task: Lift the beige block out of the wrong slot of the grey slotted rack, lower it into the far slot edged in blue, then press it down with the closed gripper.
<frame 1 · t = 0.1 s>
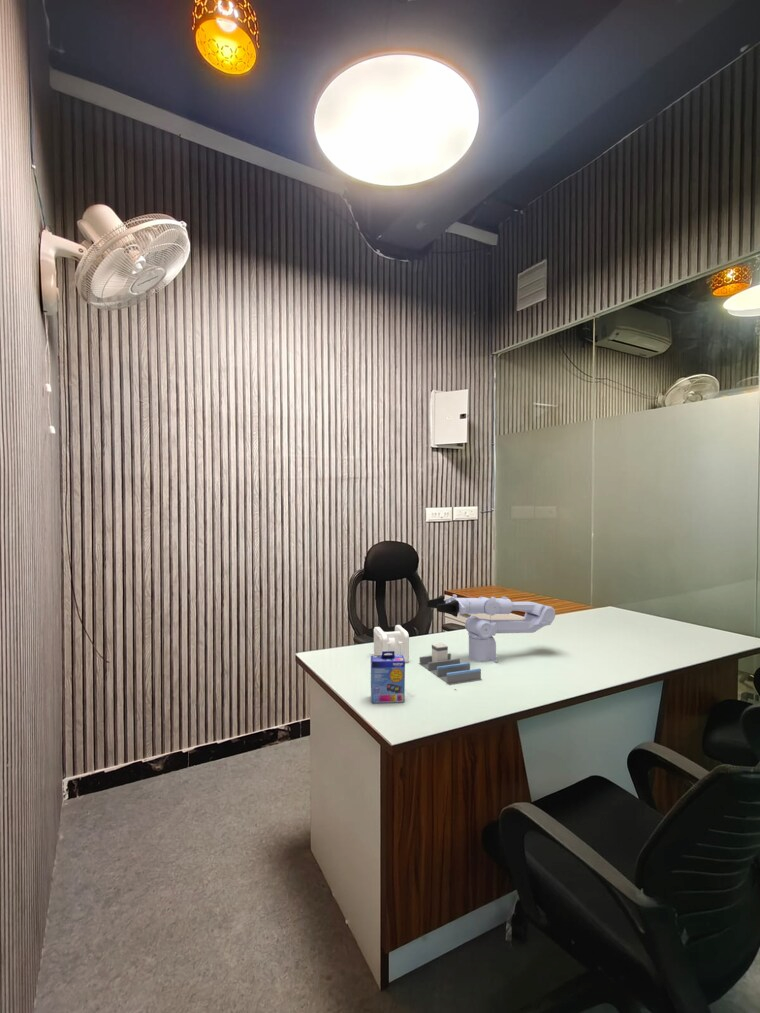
hand: (432, 605, 160), 22 cm above the table, tool horizontal, fingers open, 7 cm apart
cable organizer: (390, 661, 167), on the table
grey slotted rack: (448, 674, 153), on the table
beige block: (439, 665, 159), point 1 cm above the table, touching grey slotted rack
ink cartridge box: (387, 700, 132), on the table
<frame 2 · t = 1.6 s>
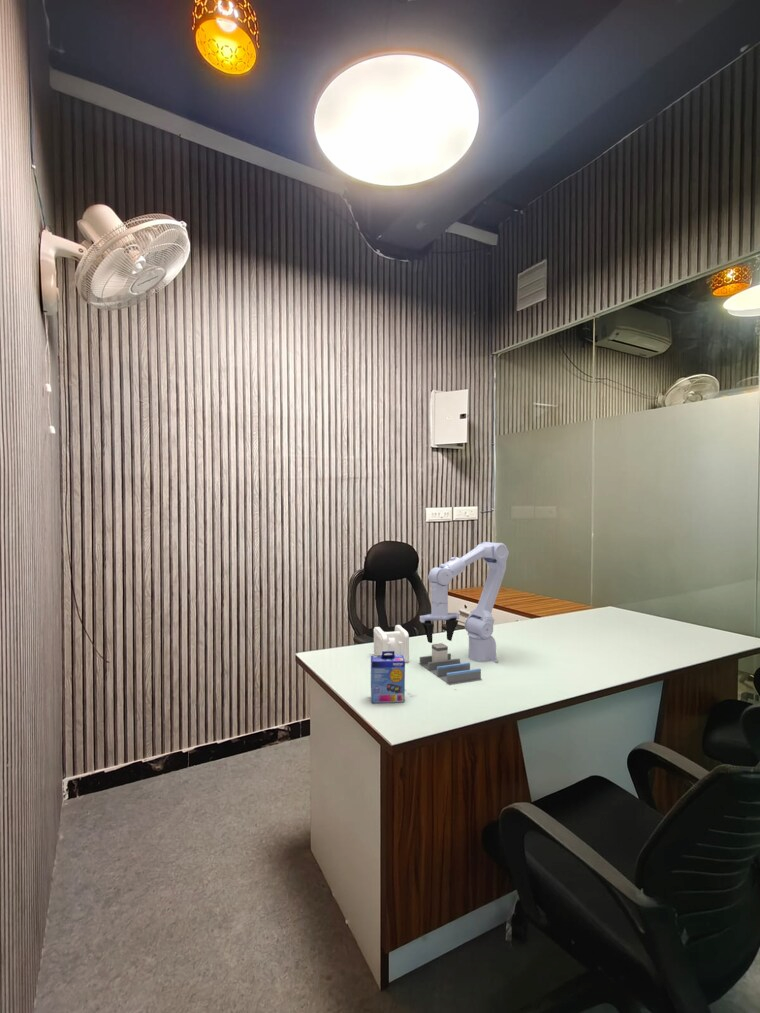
hand: (439, 641, 159), 9 cm above the table, tool pointing down, fingers open, 7 cm apart
nothing on the table moved.
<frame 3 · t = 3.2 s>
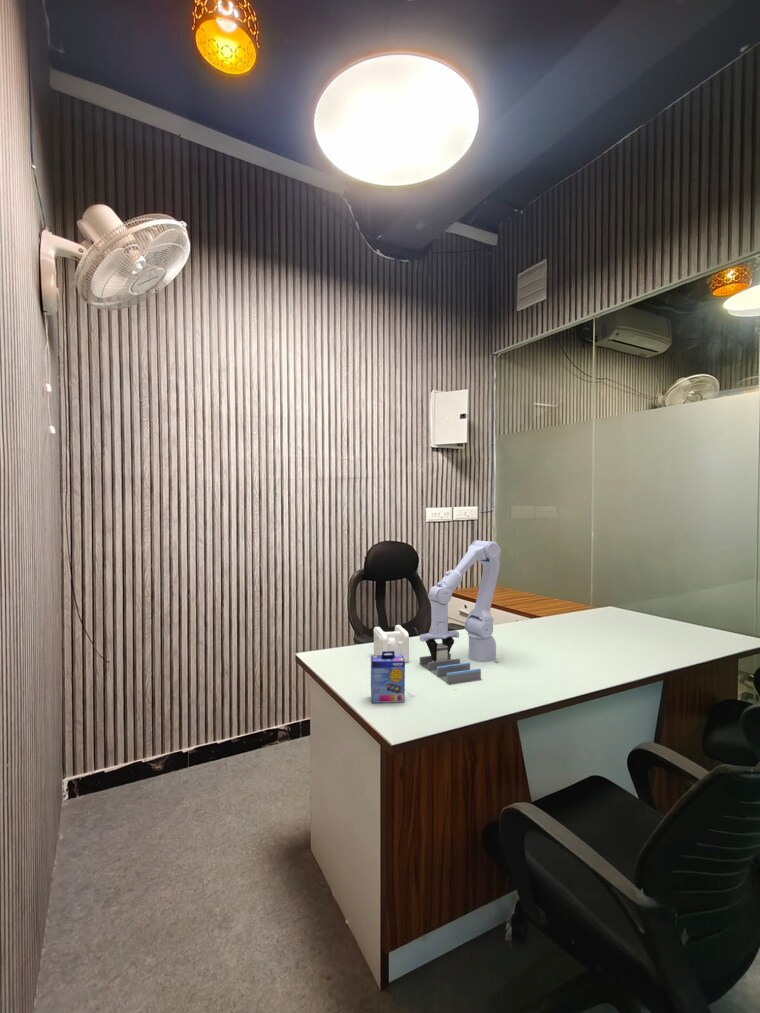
hand: (439, 659, 159), 3 cm above the table, tool pointing down, fingers closed on beige block, 4 cm apart
beige block: (439, 665, 159), point 1 cm above the table, touching grey slotted rack, gripper
everything else where it was.
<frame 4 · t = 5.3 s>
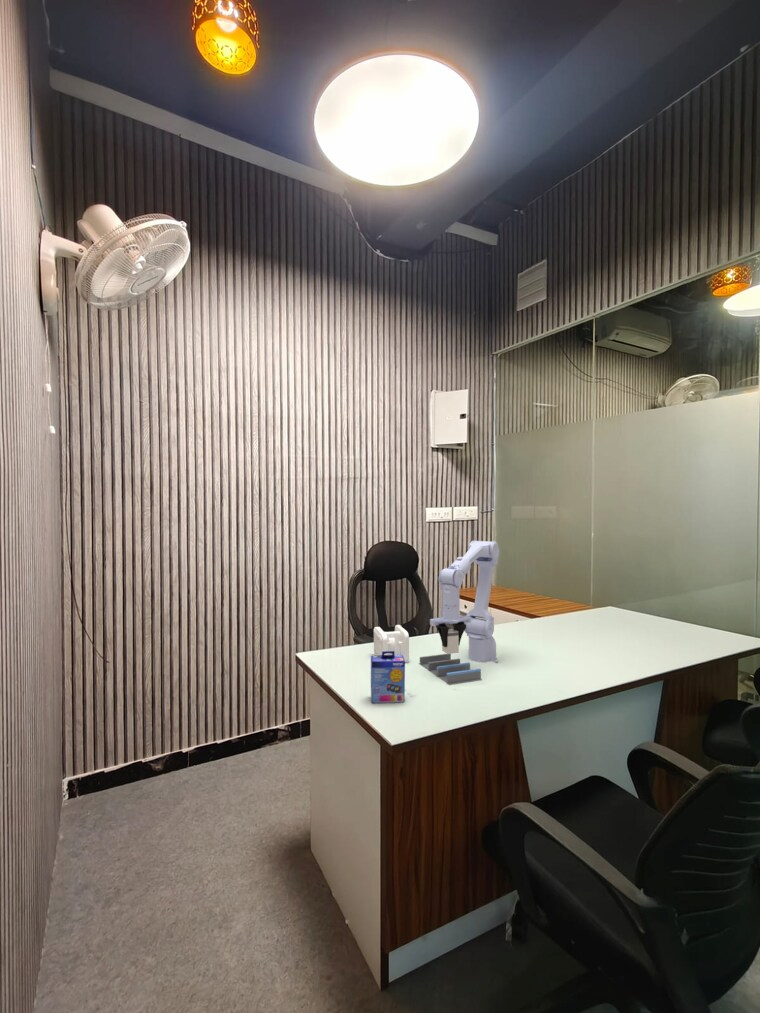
hand: (450, 645, 152), 10 cm above the table, tool pointing down, fingers closed on beige block, 4 cm apart
beige block: (450, 651, 152), point 8 cm above the table, touching gripper
everything else where it was.
when the fingers open (4 cm above the table, at t = 7.6 s): beige block stays where it is, resting on grey slotted rack.
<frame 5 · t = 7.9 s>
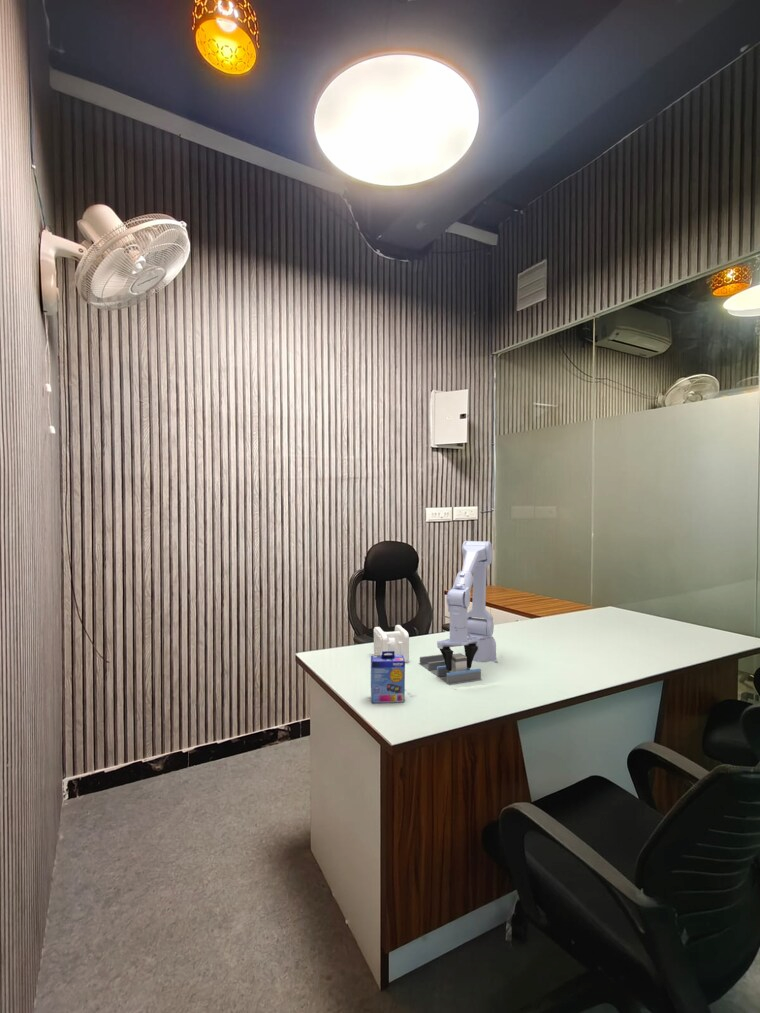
hand: (458, 668, 147), 4 cm above the table, tool pointing down, fingers open, 7 cm apart
beige block: (458, 677, 147), point 1 cm above the table, touching grey slotted rack
everything else where it was.
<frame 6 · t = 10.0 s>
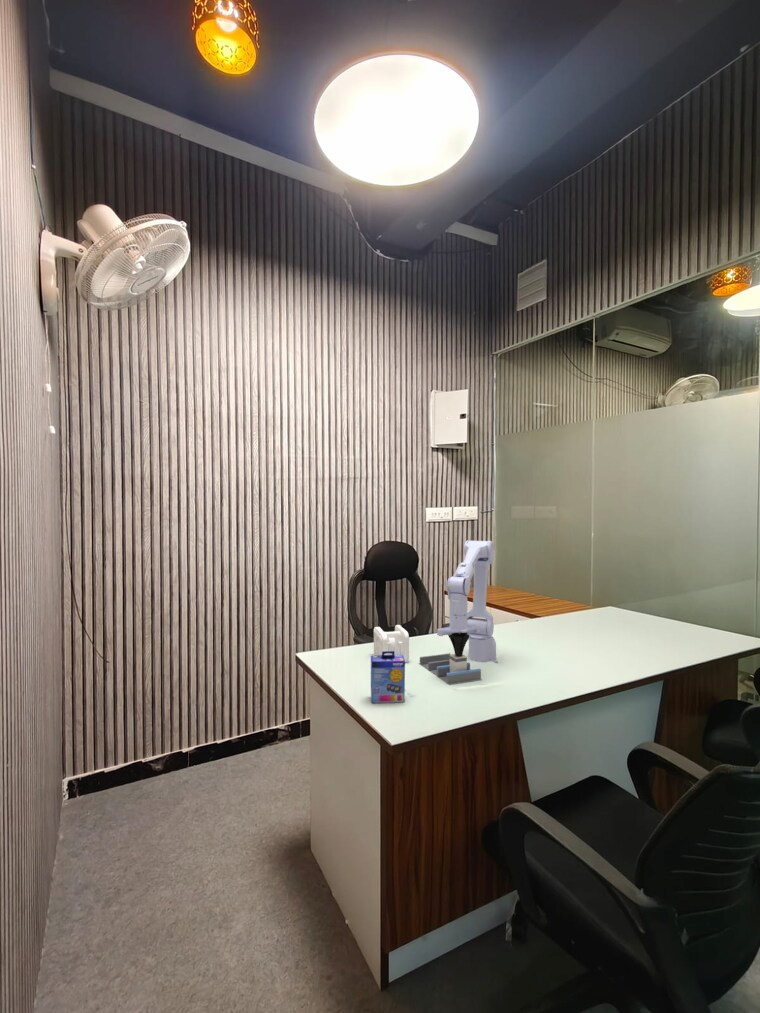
hand: (458, 656, 147), 8 cm above the table, tool pointing down, fingers closed, pressing on beige block
beige block: (458, 677, 147), point 1 cm above the table, touching grey slotted rack, gripper
everything else where it was.
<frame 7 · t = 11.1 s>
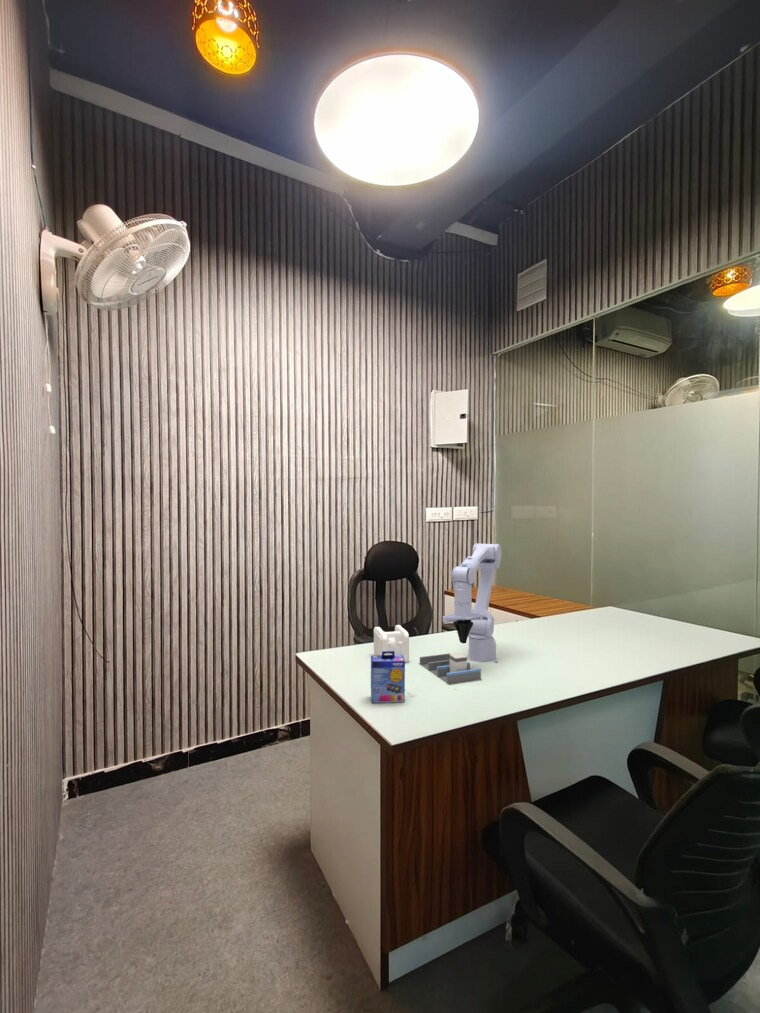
hand: (462, 642, 154), 10 cm above the table, tool pointing down, fingers closed
beige block: (458, 677, 147), point 1 cm above the table, touching grey slotted rack
everything else where it was.
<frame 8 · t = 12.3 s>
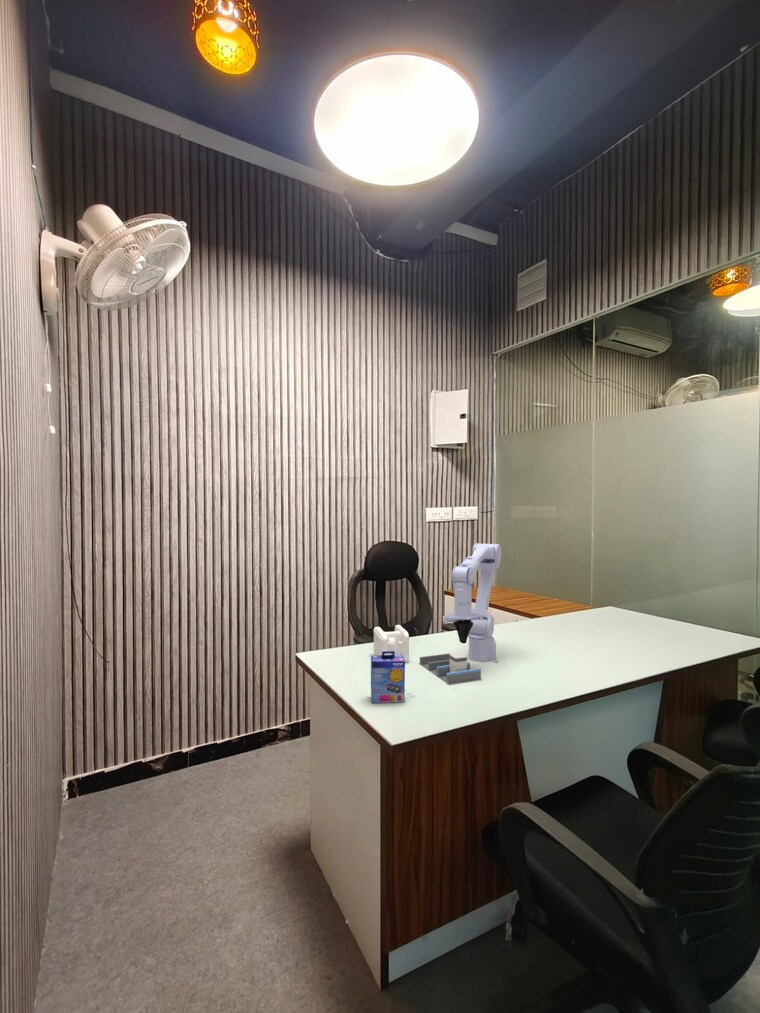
hand: (462, 642, 154), 10 cm above the table, tool pointing down, fingers closed
nothing on the table moved.
at the end: beige block 0.3 cm from the target spot on the grey slotted rack, point 1.0 cm above the grey slotted rack's base; beige block tilted 0°; the gripper is holding nothing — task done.
